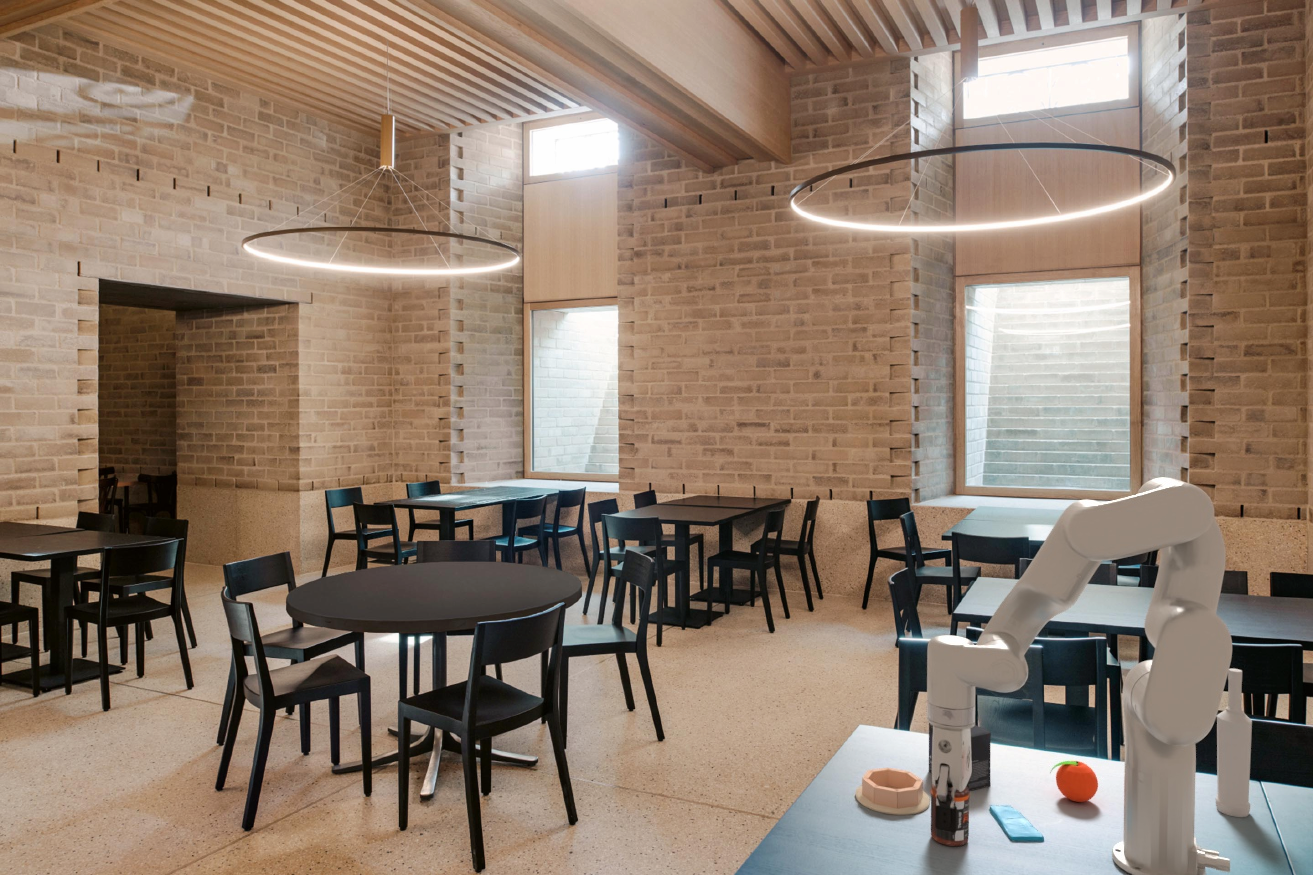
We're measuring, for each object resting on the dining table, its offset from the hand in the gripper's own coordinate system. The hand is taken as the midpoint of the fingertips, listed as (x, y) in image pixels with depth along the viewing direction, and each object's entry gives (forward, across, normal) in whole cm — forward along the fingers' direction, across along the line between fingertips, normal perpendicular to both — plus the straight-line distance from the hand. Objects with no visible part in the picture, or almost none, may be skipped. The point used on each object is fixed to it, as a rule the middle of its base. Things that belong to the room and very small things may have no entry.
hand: (949, 820), depth 148 cm
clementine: (+3, +26, -17) cm, 31 cm away
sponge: (+4, +11, -9) cm, 14 cm away
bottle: (+3, +34, -42) cm, 54 cm away
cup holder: (+3, +11, +12) cm, 17 cm away
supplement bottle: (+3, 0, 0) cm, 3 cm away
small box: (+3, +26, +3) cm, 26 cm away
